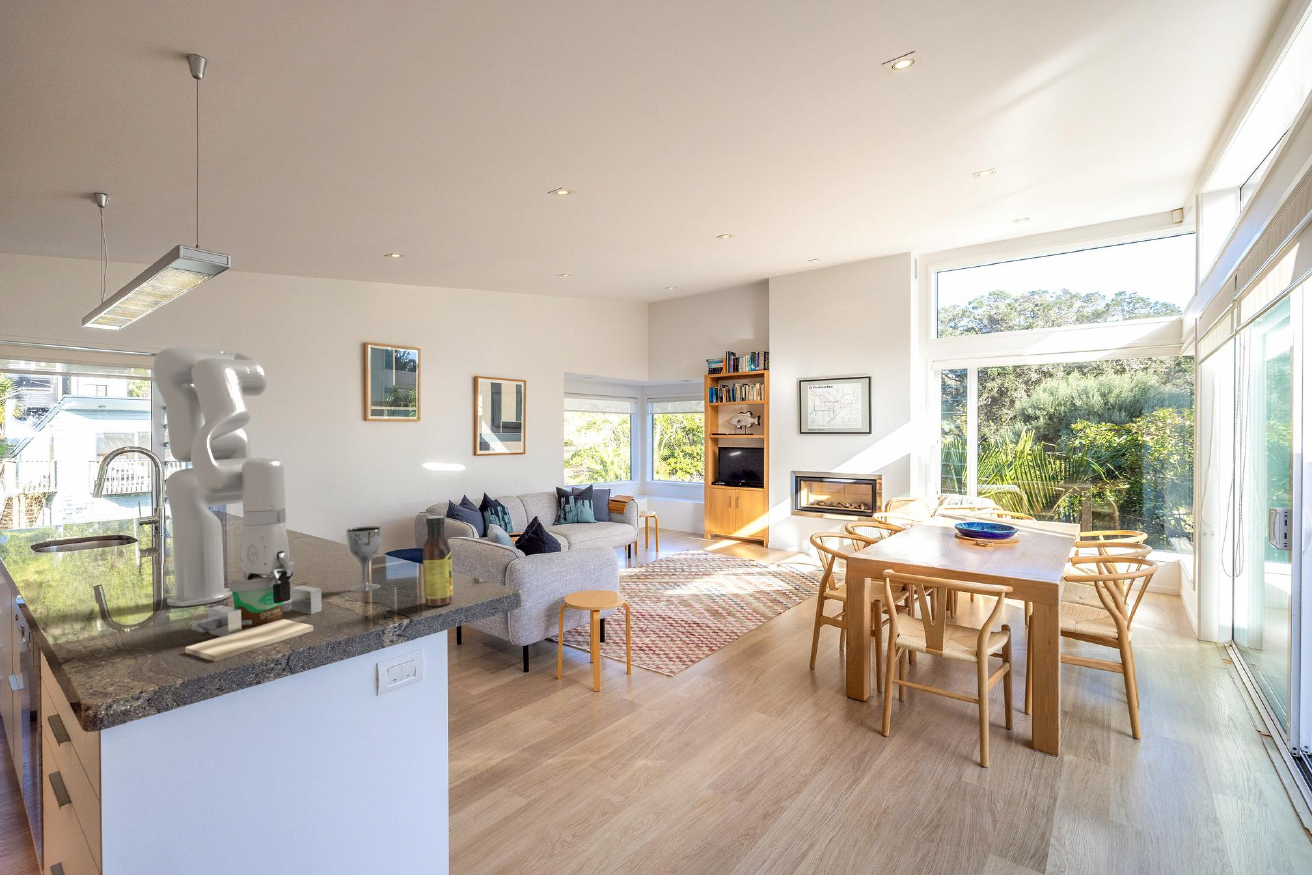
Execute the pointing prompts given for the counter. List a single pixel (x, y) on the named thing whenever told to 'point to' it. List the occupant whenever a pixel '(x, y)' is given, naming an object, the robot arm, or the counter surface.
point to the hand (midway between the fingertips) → (268, 599)
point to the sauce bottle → (437, 564)
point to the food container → (256, 601)
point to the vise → (230, 618)
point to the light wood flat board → (248, 640)
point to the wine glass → (364, 550)
